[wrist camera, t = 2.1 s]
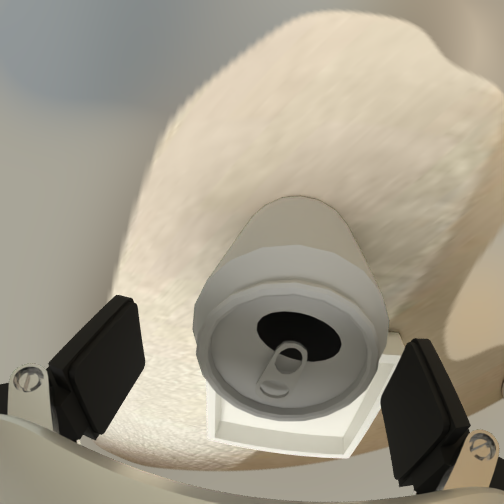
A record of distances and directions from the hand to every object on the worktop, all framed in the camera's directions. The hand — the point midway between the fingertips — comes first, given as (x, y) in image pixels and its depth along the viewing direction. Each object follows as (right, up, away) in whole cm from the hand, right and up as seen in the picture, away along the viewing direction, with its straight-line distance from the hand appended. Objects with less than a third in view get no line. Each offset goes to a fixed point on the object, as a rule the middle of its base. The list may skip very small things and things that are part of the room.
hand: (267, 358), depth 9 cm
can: (+3, +4, +11) cm, 12 cm away
